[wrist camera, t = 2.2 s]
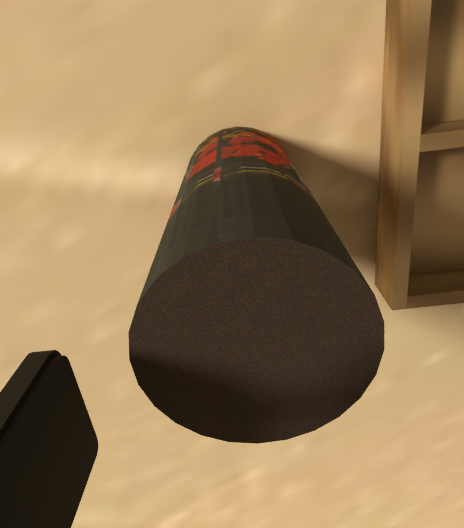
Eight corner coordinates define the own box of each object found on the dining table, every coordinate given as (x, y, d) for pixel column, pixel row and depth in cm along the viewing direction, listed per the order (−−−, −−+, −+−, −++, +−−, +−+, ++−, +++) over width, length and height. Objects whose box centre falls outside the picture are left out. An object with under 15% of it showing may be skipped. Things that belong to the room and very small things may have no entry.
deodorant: (314, 178, 23) (437, 346, 9) (241, 249, 25) (258, 473, 11) (236, 101, 21) (253, 175, 8) (164, 185, 23) (76, 361, 10)
